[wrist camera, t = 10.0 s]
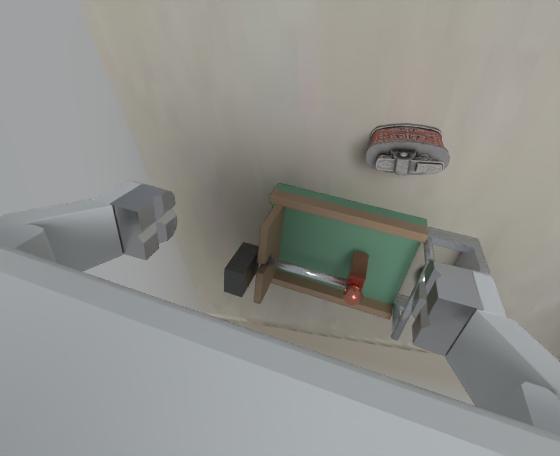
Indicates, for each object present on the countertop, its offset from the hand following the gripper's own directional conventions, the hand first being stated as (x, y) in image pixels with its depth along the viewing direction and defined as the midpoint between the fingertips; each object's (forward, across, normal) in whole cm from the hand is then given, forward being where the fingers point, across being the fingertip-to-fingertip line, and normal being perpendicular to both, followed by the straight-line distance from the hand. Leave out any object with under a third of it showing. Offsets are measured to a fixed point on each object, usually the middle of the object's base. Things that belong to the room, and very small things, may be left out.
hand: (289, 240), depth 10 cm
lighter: (+34, -5, +6) cm, 35 cm away
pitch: (+33, -1, +24) cm, 41 cm away
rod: (+30, +3, +24) cm, 39 cm away
